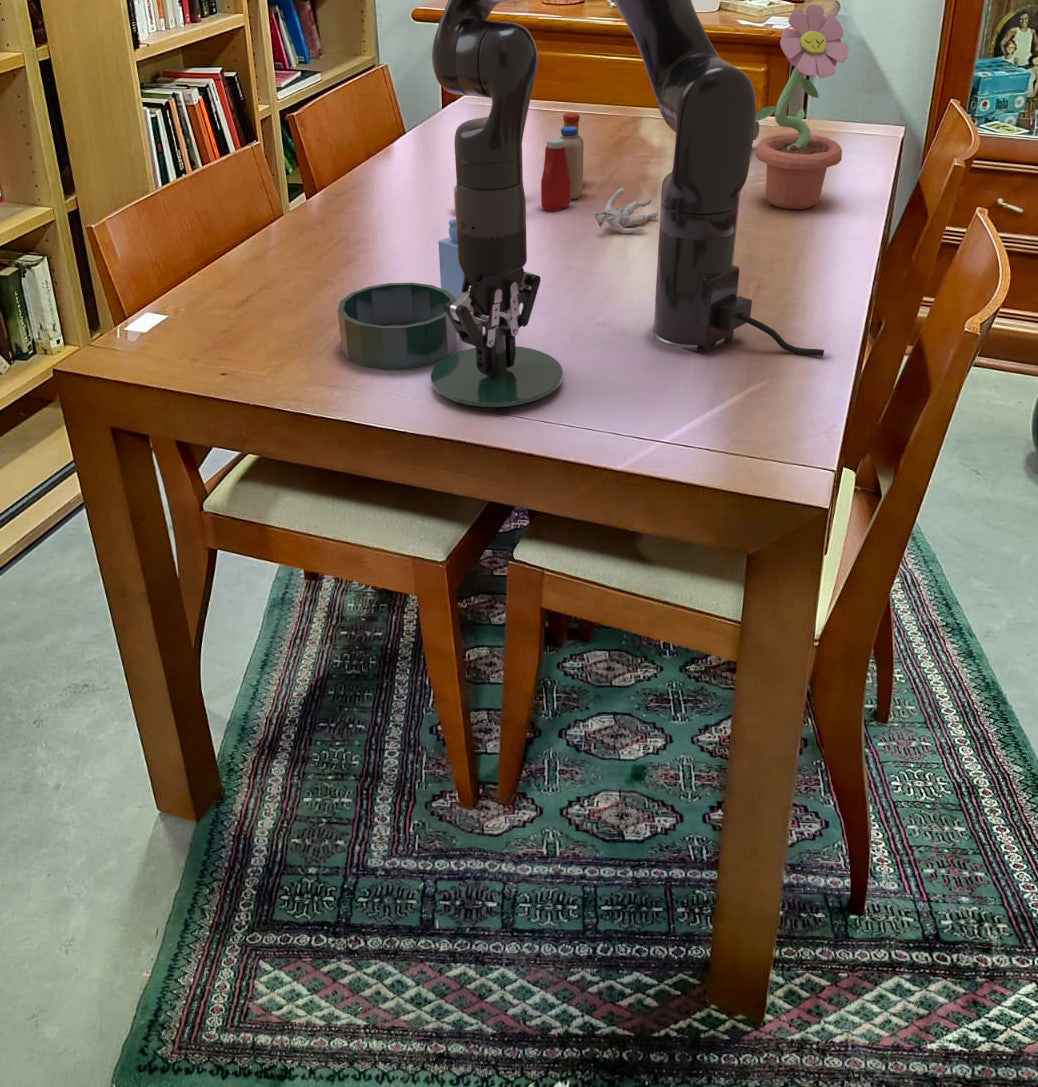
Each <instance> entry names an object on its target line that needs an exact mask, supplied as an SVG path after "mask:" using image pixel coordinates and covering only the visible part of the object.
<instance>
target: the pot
mask: <svg viewBox="0 0 1038 1087" xmlns="http://www.w3.org/2000/svg"><path fill="white" fill-rule="evenodd" d="M448 301H451V302H455V301H456V298H455V297H454V296H453V295H451V294H450V293H449V292H448V291H447V290H444V289H441V287H438V286H435V285H432V284H426V283H418V282H387V283H382V284H376V285H370V286H367V287H364V288H361V289H359V290H355V291H353V292H350V293H349V294H348V295H346V296H345V297H344V298H342V299H341V300H339V303H338V307H337V317H338V327H339V335H340V344H341V352H342V353H343V355H344V356H345V357H346V359H347V360H348V361H350V362H352V363H354V364H357V365H359V366H361V367H364V368H369V369H375V370H379V371H380V370H381V371H407V370H408V371H410V370H415V369H420V368H424V367H429V366H432V365H436V364H437V363H439V362H440V361H441V360H443V359H444V358H446V357H448V356H450V355H452V354H454V353H455V352H456V351H457V349H458V343H459V335H458V333H457V331H456V329H455V328H454V326H453V324H452V322H451V320H450V318H449V316H448V314H447V313H446V311H445V305H446V303H447V302H448Z"/></svg>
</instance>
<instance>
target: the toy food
mask: <svg viewBox="0 0 1038 1087" xmlns="http://www.w3.org/2000/svg"><path fill="white" fill-rule="evenodd" d="M580 117H581V116H580V114H579V113H578V112H577V113H576V112H566V113H564V114H563V116H562V121H563V126H562V127H561V128H560V135H561V136H560V137H552V138H548V139H546V146H545V149H544V163H543V171H542V175H541V181H540V201H541V202H540V204H541V208H542V209H543V210H545V211H550V212H555V211H559V210H562V209H567V208H568V207H569V206H570V202H571V200H575V199H578V198H580V197H581V196H582V194H583V190H584V187H583V186H584V185H583V184H584V181H583V180H584V147H585V146H584V145H585V143H584V139H583V138H582V137H581V136H580V135H579V126H580V124H579V123H580V121H581V120H580V119H581V118H580ZM456 188H457V184H455V186H454V187H453V196H454V198H453V200H454V202H455V201H456ZM454 211H455V213H456V206H455V205H454Z"/></svg>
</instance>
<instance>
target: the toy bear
mask: <svg viewBox="0 0 1038 1087" xmlns="http://www.w3.org/2000/svg"><path fill="white" fill-rule="evenodd" d="M448 225H449V227H448V236H449V237H446V238H443V239H440V240H438V259H439V275H440V288H441V289H444V290H447V291H448V292H449V293H450V294H451V295H453V296H454V297H455V298H456V300H457V299H458V298H459V297H460V296H461V295H462V285H463V282H464V272H463V270H462V268H461V266H460V265H459V261H458V243H457V224H456V218H450V219H449V221H448Z"/></svg>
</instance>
